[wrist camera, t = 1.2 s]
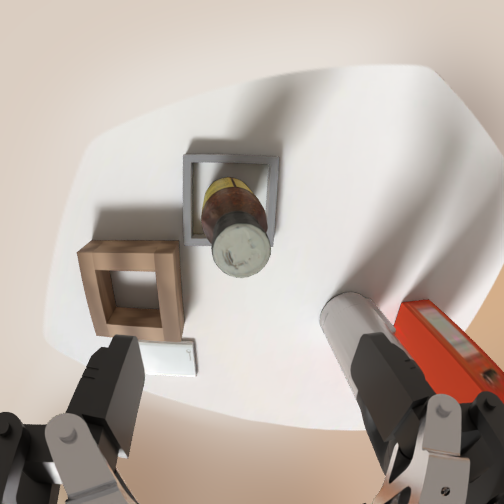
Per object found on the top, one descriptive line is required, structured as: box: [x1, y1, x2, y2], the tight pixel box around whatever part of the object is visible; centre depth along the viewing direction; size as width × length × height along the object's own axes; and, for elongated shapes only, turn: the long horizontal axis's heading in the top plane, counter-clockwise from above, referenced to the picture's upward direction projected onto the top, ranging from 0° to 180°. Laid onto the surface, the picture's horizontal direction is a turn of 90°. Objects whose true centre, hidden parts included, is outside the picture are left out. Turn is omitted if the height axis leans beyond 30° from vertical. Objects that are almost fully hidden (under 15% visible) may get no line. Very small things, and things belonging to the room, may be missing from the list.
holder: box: [77, 240, 184, 342], centre depth 38 cm, size 14×14×5 cm
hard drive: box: [138, 340, 197, 377], centre depth 46 cm, size 2×8×12 cm
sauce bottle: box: [201, 177, 271, 278], centre depth 28 cm, size 6×6×20 cm
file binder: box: [394, 300, 504, 404], centre depth 35 cm, size 8×17×32 cm, turn 177°
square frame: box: [183, 154, 279, 247], centre depth 36 cm, size 12×12×2 cm
